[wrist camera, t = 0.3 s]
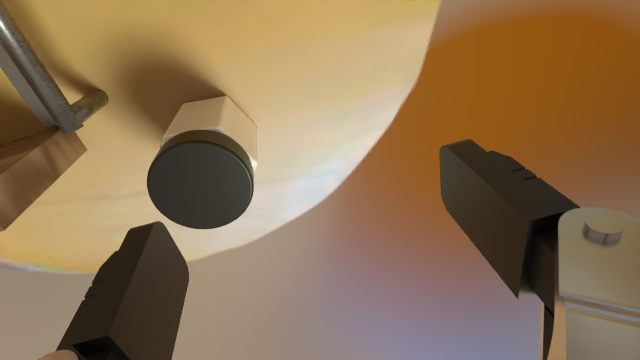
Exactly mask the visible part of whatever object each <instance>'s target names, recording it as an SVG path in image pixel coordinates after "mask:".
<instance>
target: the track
mask: <svg viewBox="0 0 640 360" xmlns="http://www.w3.org/2000/svg"><path fill="white" fill-rule="evenodd" d="M0 67H1V68H2V70H3V71H4V73H5V74H6V75H7V77H8V78H9V80H10V81H11V82H12V84H13V85H14V87H15V88H16V89H17V91H18V92H19V93H20V95H21V96H22V98H23V99H24V100H25V102H26V103H27V105H28V106H29V107H30V109H31V110H32V112H33V113H34V114H35V116H36V117H37V118H38V120H39V121H40V123H41V124H42V125H43V127H44V128H48V127H51V126H54V125H57V124H56V123H55V121H54V120H53V119H52V117H51V116H50V114H49V113H48V111H47V110H46V108H45V107H44V106H43V104H42V103H41V101H40V100H39V98H38V97H37V96H36V94H35V93H34V91H33V90H32V88H31V87H30V86H29V84H28V83H27V81H26V80H25V78H24V77H23V75H22V74H21V73H20V71H19V70H18V68H17V67H16V65H15V64H14V63H13V61H12V60H11V58H10V57H9V55H8V54H7V53H6V51H5V50H4V48H3V47H2V45H1V44H0Z"/></svg>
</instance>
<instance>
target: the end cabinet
mask: <svg viewBox="0 0 640 360" xmlns="http://www.w3.org/2000/svg"><path fill="white" fill-rule="evenodd" d="M86 151H87V149H86V148H85V146H84V145H83V143H82V142H81V140H80V139H79V137H78V136H77V134H76V133H75V131H73V132H70V133H67V134H63V133H62V131H61V130H60V129H59V127H58V128H55V129H52V130H49V131H45V132H42V133H39V134H36V135H32V136H29V137H26V138H23V139H20V140H16V141H13V142H10V143H7V144H4V145H0V232H1V231H4V230H5V229H6V228H8V227H9V226H10V225H11V224H12V223H13V222H14V221H15V220H16V219H17V218H18V217H19V216H20V215H21V214H22V213H23V212H24V211H25V210H26V209H27V208H28V207H29V206H30V205H31V204H32V203H33V202H34V201H35V200H36V199H37V198H38V197H39V196H40V195H41V194H42V193H43V192H44V191H45V190H47V189H48V188H49V187H50V186H51V185H52V184H53V183H54V182H55V181H56V180H57V179H58V178H59V177H60V176H61V175H62V174H63V173H64V172H65V171H66V170H67V169H68V168H69V167H70V166H71V165H72V164H73V163H74V162H75V161H76V160H77V159H78V158H79V157H80V156H81V155H82V154H83V153H85V152H86Z"/></svg>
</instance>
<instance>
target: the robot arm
mask: <svg viewBox="0 0 640 360" xmlns="http://www.w3.org/2000/svg"><path fill="white" fill-rule="evenodd" d="M440 180H441V195H442V200H443V203H444V205H445V207H446V209H447V211H448V212H449V214H450V215H451V216H452V217H453V219H454V220H455V221H456V222H457V224H458V225H459V226H460V227H461V229H462V230H463V231H464V232H465V234H466V235H467V236H468V237H469V238H470V240H471V241H472V242H473V244H474V245H475V246H476V247H477V248H478V250H479V251H480V252H481V254H482V255H483V256H484V257H485V259H486V260H487V261H488V262H489V264H490V265H491V266H492V267H493V269H494V270H495V271H496V272H497V274H498V275H499V276H500V277H501V279H502V280H503V281H504V282H505V284H506V285H507V286H508V287H509V289H510V290H511V291H512V292H513V294H514V295H515V296H516V297H517V298H518V299H521V298H525V297H528V296H532V295H535V294H536V295H537V296H538V297H539V298H540V299H541V300H542V302H543V307H542V317H541V347H540V360H640V223H639V222H638V221H637V220H635V219H633V218H631V217H630V216H628V215H625V214H623V213H620V212H617V211H614V210H610V209H605V208H597V207H583V208H581V207H579V206H578V205H576V204H575V203H574V202H572V201H571V200H570V199H568V198H567V197H565V196H564V195H562V194H561V193H560V192H558V191H557V190H556V189H554V188H553V187H551V186H550V185H549V184H547V183H546V182H545V181H543V180H542V179H541V178H537V177H536V175H535V174H534V173H532V172H531V171H529V170H528V169H525V167H524V166H522V165H521V164H520V163H518V162H517V161H516V160H514V159H513V158H511V157H509V156H506V155H503V154H500V153H498V152H495V151H489V152H486V151H485V150H484V149H483V148H481V147H480V146H479V145H477V144H476V143H475V142H474V141H472V140H471V139H466V140H462V141H458V142H455V143H451V144H447V145H443V146H442V147H441V148H440ZM188 282H189V272H188V267H187V264H186V261H185V259H184V257H183V256H182V254H181V252H180V251H179V249H178V247H177V245H176V244H175V242H174V240H173V239H172V237H171V235H170V233H169V232H168V230H167V228H166V227H165V225H164V224H163V223H162V222H159V221H157V222H153V223H150V224H146V225H142V226H138V227H135V228H131V229H130V230H129V231H128V233H127V235H126V237H125V239H124V241H123V243H122V245H121V247H120V249H119V250H118V251H115V252H114V253H113V254H112V255H111V256H110V257H109V258H108V260H107V261H106V262H105V263H104V264H103V265H102V266H101V267H100V269H99V271H98V272H97V274H96V276H95V278H94V280H93V282H92V286H91V287H89V289H88V291H87V293H86V295H85V300H83V301H82V302H81V304H80V306H79V308H78V310H77V312H76V314H75V316H74V317H73V319H72V321H71V323H70V325H69V327H68V329H67V331H66V332H65V334H64V336H63V338H62V340H61V342H60V344H59V346H58V347H57V349H56V351H55V352H52V353H49V354H47V355H45V356H43V357H41V358H39V359H38V360H171V359H172V354H173V350H174V345H175V341H176V336H177V332H178V328H179V323H180V319H181V314H182V310H183V305H184V301H185V296H186V292H187V287H188Z"/></svg>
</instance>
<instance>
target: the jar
mask: <svg viewBox="0 0 640 360" xmlns="http://www.w3.org/2000/svg"><path fill="white" fill-rule="evenodd" d="M256 166H257V127H256V125H255V124H254V123H253V122H252V121H251V120H250V119H249V118H248V117H247V116H246V115H245V114H244V113H243V112H242V111H241V110H240V109H239V108H238V107H237V106H236V105H235V104H234V103H233V101H232V100H231V99H230V98H229V97H228V96H222V97H216V98H211V99H205V100H200V101H194V102H189V103H184V104H182V106H181V108H180V109H179V111H178V113H177V114H176V116H175V117H174V119H173V121H172V122H171V124H170V126H169V127H168V129H167V130H166V132H165V134H164V135H163V137H162V142H161V146H160V150H159V152H158V154H157V155H156V157H155V159H154V160H153V162H152V164H151V166H150V168H149V171H148V176H147V188H148V193H149V196H150V198H151V200H152V202H153V204H154V205H155V207H156V208H157V209H158V210H159V211H160V212H161V213H162V214H163V215H164V216H165V217H167V218H168V219H170V220H171V221H173V222H175V223H177V224H179V225H182V226H185V227H189V228H194V229H212V228H218V227H221V226H224V225H227V224H229V223H231V222H233V221H234V220H236V219H237V218H238V217H240V216H241V215H242V214H243V213H244V212H245V210H246V209H247V207H248V206H249V204H250V202H251V199H252V196H253V189H254V172H255V169H256Z"/></svg>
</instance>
